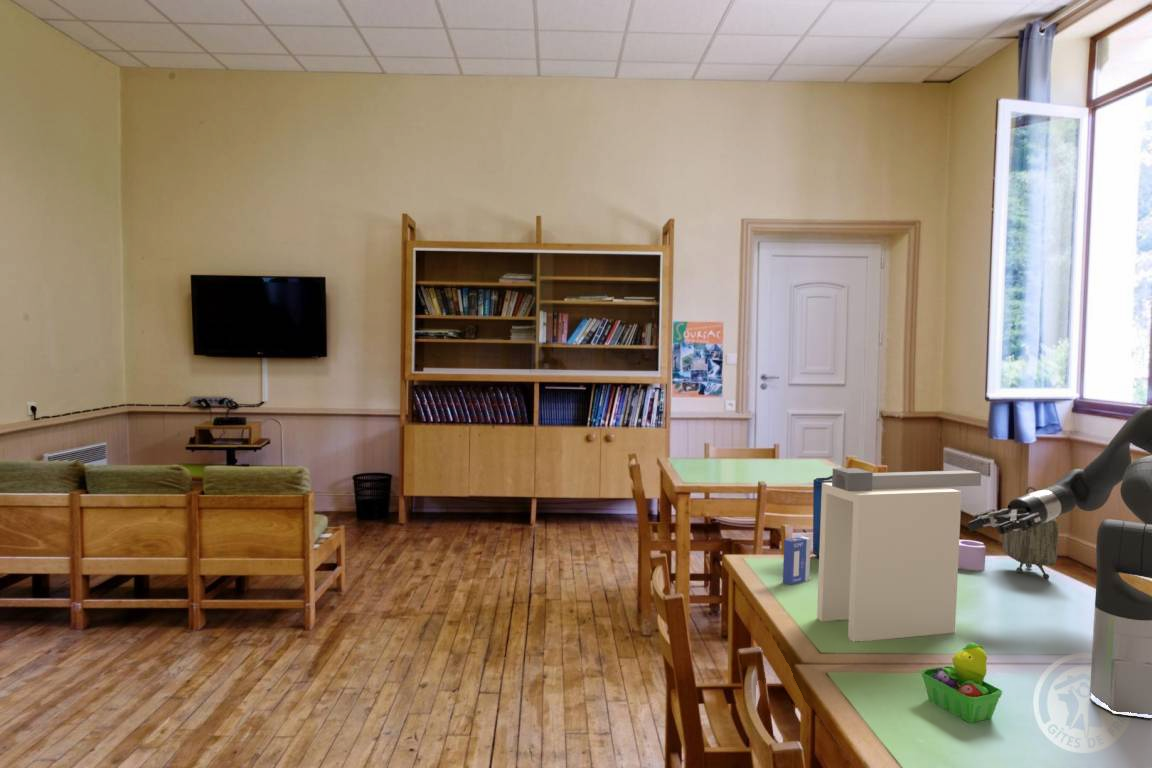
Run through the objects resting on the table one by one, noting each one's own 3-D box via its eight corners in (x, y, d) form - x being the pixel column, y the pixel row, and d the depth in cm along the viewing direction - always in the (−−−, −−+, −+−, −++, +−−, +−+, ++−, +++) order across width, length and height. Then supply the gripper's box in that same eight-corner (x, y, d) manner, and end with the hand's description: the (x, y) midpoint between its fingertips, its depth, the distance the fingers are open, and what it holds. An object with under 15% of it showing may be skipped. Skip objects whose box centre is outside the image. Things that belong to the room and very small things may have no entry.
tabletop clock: (1056, 582, 204) (1060, 492, 202) (1020, 580, 205) (1025, 491, 204) (1032, 567, 218) (1036, 483, 217) (999, 565, 219) (1003, 481, 218)
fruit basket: (916, 697, 134) (919, 636, 133) (953, 690, 137) (956, 631, 137) (970, 728, 123) (973, 662, 123) (1008, 720, 126) (1012, 655, 126)
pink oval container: (980, 562, 222) (981, 539, 222) (986, 574, 211) (987, 550, 210) (908, 554, 230) (909, 532, 229) (910, 565, 218) (911, 542, 218)
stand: (912, 610, 179) (917, 480, 177) (954, 632, 165) (961, 491, 164) (816, 618, 172) (821, 482, 171) (853, 641, 159) (859, 494, 157)
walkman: (790, 585, 197) (792, 540, 196) (782, 582, 199) (784, 538, 198) (810, 580, 201) (811, 537, 200) (802, 577, 203) (803, 534, 203)
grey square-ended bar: (965, 481, 176) (965, 465, 176) (984, 486, 170) (985, 469, 170) (832, 486, 167) (832, 468, 167) (848, 491, 161) (848, 473, 161)
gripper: (1065, 526, 173) (1013, 547, 168) (1013, 521, 187) (964, 540, 182) (1056, 495, 173) (1004, 515, 168) (1005, 492, 187) (956, 511, 182)
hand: (983, 528), depth 175 cm, fingers open, 8 cm apart
